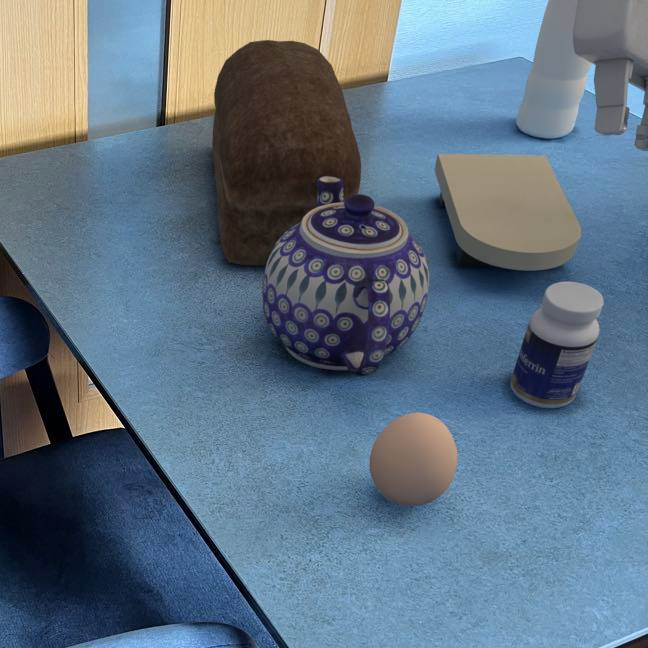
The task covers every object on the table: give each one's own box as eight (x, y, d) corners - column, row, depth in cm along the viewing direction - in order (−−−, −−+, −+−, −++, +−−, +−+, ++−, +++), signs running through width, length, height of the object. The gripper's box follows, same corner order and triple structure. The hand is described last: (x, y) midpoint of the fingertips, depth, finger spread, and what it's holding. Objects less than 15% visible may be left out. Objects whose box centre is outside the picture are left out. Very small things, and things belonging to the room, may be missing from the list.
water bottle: (565, 144, 129) (633, -82, 112) (508, 133, 132) (565, -89, 114) (577, 123, 133) (644, -97, 116) (522, 113, 136) (579, -104, 118)
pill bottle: (497, 378, 95) (526, 282, 88) (553, 368, 96) (586, 273, 89) (529, 415, 91) (562, 318, 84) (587, 405, 92) (625, 308, 85)
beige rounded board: (428, 194, 120) (437, 153, 117) (534, 197, 120) (546, 155, 116) (458, 295, 105) (469, 251, 101) (579, 298, 104) (594, 254, 101)
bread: (322, 144, 131) (340, 10, 119) (356, 275, 108) (382, 125, 97) (207, 144, 131) (214, 11, 120) (216, 275, 109) (226, 125, 97)
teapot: (440, 421, 90) (480, 271, 80) (270, 422, 91) (287, 273, 80) (389, 273, 108) (417, 134, 98) (247, 274, 109) (259, 136, 98)
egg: (355, 513, 82) (371, 436, 77) (370, 462, 87) (386, 386, 81) (440, 532, 81) (463, 455, 75) (451, 479, 85) (473, 402, 79)
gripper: (667, -116, 65) (632, 119, 68) (741, -35, 79) (710, 155, 83) (564, -94, 69) (536, 126, 72) (653, -21, 84) (626, 159, 87)
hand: (629, 142), depth 78 cm, fingers open, 8 cm apart
